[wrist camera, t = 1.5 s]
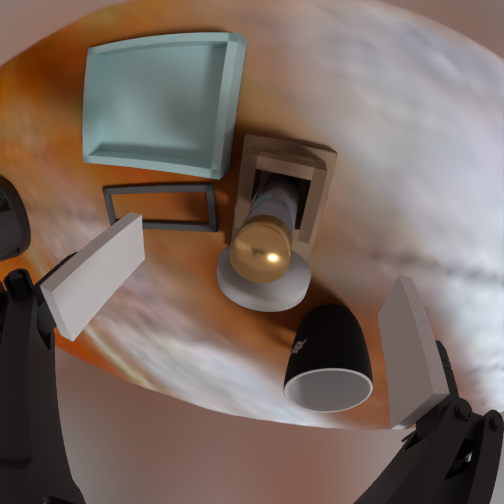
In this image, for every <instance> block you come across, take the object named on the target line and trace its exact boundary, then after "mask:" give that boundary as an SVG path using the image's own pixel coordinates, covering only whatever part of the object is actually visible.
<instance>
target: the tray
mask: <svg viewBox="0 0 504 504" xmlns="http://www.w3.org/2000/svg"><path fill="white" fill-rule="evenodd" d="M247 42H248V41H247V40H246V39H245V38H244V37H243V36H242V35H241V34H240V33H218V32H210V33H182V34H168V35H158V36H150V37H142V38H136V39H130V40H124V41H119V42H114V43H109V44H104V45H100V46H96V47H92V48H88V54H87V62H86V71H85V81H84V96H83V162H84V163H96V164H107V165H117V166H127V167H136V168H144V169H152V170H160V171H167V172H174V173H181V174H188V175H194V176H200V177H206V178H212V179H218V180H220V179H221V178H222V177H223V176H224V175H225V174H227V173H228V172H229V169H230V161H231V153H232V145H233V137H234V129H235V122H236V115H237V108H238V100H239V94H240V87H241V80H242V74H243V67H244V61H245V55H246V48H247Z"/></svg>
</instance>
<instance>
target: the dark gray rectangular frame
mask: <svg viewBox="0 0 504 504" xmlns="http://www.w3.org/2000/svg"><path fill="white" fill-rule="evenodd" d="M161 192H206V194H207V204H208V214H209V223H210V224H205V223H181V222H151V221H142V229H161V230H182V231H201V232H217V231H218V221H217V210H216V199H215V187H214V184H167V185H141V186H123V187H108V188H104V189H103V194H104V199H105V203H106V208H107V212H108V216H109V220H110V224H111V226H112V225H113V224H115V223H116V222H117V221H116V217H115V213H114V208H113V204H112V199H111V194H128V193H161Z"/></svg>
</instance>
